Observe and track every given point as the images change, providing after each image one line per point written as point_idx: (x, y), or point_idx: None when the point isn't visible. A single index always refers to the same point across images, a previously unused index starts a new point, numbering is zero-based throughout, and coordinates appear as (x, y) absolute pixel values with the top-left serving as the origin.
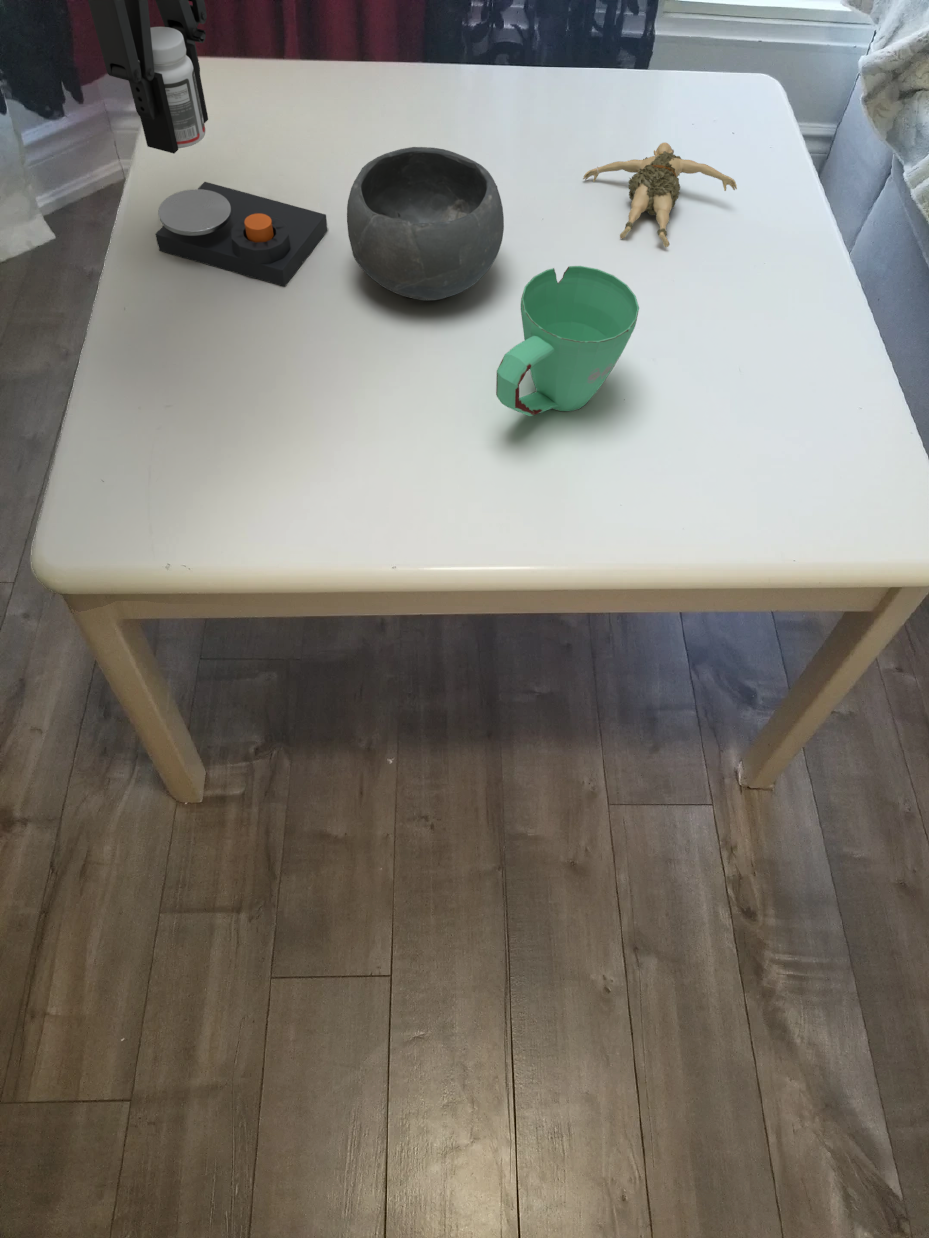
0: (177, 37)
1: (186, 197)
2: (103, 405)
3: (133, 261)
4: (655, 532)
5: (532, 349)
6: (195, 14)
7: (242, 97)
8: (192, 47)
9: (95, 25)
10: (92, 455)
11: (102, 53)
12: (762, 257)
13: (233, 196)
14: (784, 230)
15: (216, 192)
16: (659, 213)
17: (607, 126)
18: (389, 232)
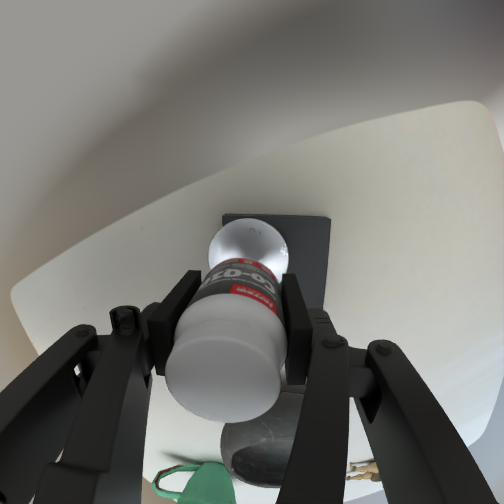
0: (240, 416)
1: (265, 240)
2: (66, 269)
3: (201, 198)
4: (161, 481)
5: (166, 497)
6: (358, 398)
7: (472, 178)
8: (296, 384)
9: (19, 377)
10: (44, 282)
11: (51, 346)
12: (346, 490)
13: (316, 260)
14: (368, 488)
15: (316, 240)
16: (358, 478)
17: (454, 417)
18: (223, 457)
